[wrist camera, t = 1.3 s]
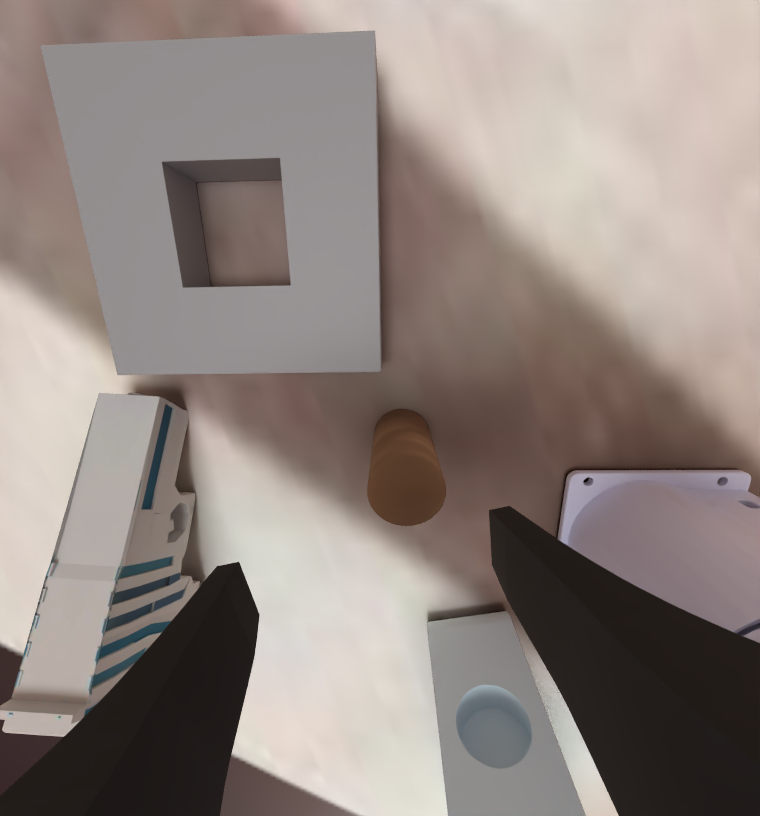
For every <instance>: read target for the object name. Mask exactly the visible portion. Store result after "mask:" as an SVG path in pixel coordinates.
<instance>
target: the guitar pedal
mask: <svg viewBox="0 0 760 816" xmlns="http://www.w3.org/2000/svg"><path fill="white" fill-rule="evenodd" d="M427 631H428V640H429V649H430V658H431V666H432V675H433V684H434V693H435V702H436V711H437V720H438V729H439V738H440V747H441V756H442V765H443V774H444V782H445V791H446V800H447V809H448V816H586V815H585V812H584V810H583V807H582V804H581V802H580V799H579V797H578V794H577V791H576V789H575V786H574V783H573V781H572V778H571V775H570V773H569V770H568V768H567V765H566V762H565V760H564V757H563V754H562V752H561V749H560V746H559V744H558V741H557V739H556V736H555V733H554V731H553V728H552V725H551V723H550V720H549V717H548V715H547V712H546V710H545V707H544V704H543V702H542V699H541V696H540V694H539V691H538V688H537V686H536V683H535V681H534V678H533V675H532V673H531V670H530V667H529V665H528V662H527V660H526V657H525V654H524V652H523V649H522V646H521V644H520V641H519V638H518V636H517V633H516V631H515V628H514V625H513V623H512V620H511V618H510V615H509V613H508V612H507V611H502V612H495V613H488V614H481V615H474V616H466V617H459V618H452V619H445V620H438V621H430V622H427Z"/></svg>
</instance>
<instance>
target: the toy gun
mask: <svg viewBox="0 0 760 816" xmlns="http://www.w3.org/2000/svg"><path fill="white" fill-rule="evenodd" d="M188 423H189V420H188V411H186V410H183V409H181V408H180V407H178V406H176V405H175V404H173V403H171V402H170V401H168V400H166V399H164V398H162V397H159V396H150V395H146V394H141V393H129V394H128V395H123V394H106V393H99V395H98V399H97V402H96V406H95V409H94V413H93V416H92V420H91V423H90V427H89V430H88V434H87V437H86V441H85V444H84V448H83V452H82V455H81V459H80V462H79V466H78V469H77V473H76V476H75V480H74V483H73V487H72V490H71V494H70V497H69V501H68V505H67V508H66V512H65V515H64V518H63V522H62V525H61V529H60V532H59V536H58V539H57V543H56V546H55V550H54V553H53V557H52V560H51V563H50V566H49V569H48V572H47V575H46V578H45V581H44V585H43V588H42V592H41V595H40V599H39V602H38V606H37V609H36V613H35V616H34V620H33V623H32V627H31V630H30V634H29V637H28V641H27V645H26V648H25V652H24V655H23V659H22V662H21V666H20V669H19V673H18V676H17V680H16V683H15V687H14V690H13V694H12V698H11V700H9V701H7V702H6V703H4V704H3V705H1V706H0V719H4V720H5V722H4V726H3V729H2V730H3V731H4V732H6V733H19V734H33V735H48V736H62V737H64V736H65V735H66V734H67V733H68V732H69V731H70V730H71V729H72V728H73V727H74V726H75V725H76V724H77V723H78V722H79V721H80V720H81V719H82V718H83V717H84V716H85V715H86V714H87V713H88V712H89V711H90V710H91V709H92V708H93V707H94V706H95V705H96V704H97V703H98V702H99V701H100V700H101V699H102V698H103V697H104V696H105V695H106V694H107V693H108V692H109V691H110V690H111V689H112V688H113V687H114V686H115V685H116V683H117V682H118V681H119V680H120V679H121V678H122V677H123V676H124V675H125V673H126V672H127V671H128V670H129V669H130V668H131V667H132V666H133V665H134V663H135V662H136V661H137V660H138V659H139V658H140V657H141V656H142V655H143V653H144V652H145V651H146V650H147V649H148V648H149V647H150V646H151V644H152V643H153V642H154V641H155V640H156V639H157V638H158V637H159V635H160V634H161V633H162V632H163V631H164V629H165V628H166V627H167V626H168V625H169V623H170V622H171V621H172V620H173V619H174V617H175V616H176V615H177V614H178V613H179V612H180V610H181V609H182V608H183V607H184V606H185V604H186V603H187V602H188V601H189V599H190V598H191V597H192V596H193V595H194V593H195V592H196V591H197V590H198V588H199V587H200V586H201V583H200V581H193V580H192V577H191V576H183V575H181V567H182V559H183V557H184V555H185V552H186V548H187V544H188V539H189V533H190V527H191V521H192V515H193V509H194V503H195V497H196V495H195V493H189V492H178V490H177V488H176V487H175V482H176V477H177V472H178V468H179V463H180V458H181V453H182V448H183V443H184V438H185V433H186V429H187V426H188Z"/></svg>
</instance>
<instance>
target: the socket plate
mask: <svg viewBox="0 0 760 816" xmlns="http://www.w3.org/2000/svg"><path fill="white" fill-rule="evenodd" d="M41 50H42V54H43V58H44V63H45V67H46V71H47V76H48V80H49V84H50V88H51V93H52V97H53V101H54V105H55V110H56V114H57V118H58V123H59V127H60V131H61V135H62V140H63V144H64V148H65V152H66V157H67V161H68V165H69V170H70V174H71V178H72V182H73V187H74V191H75V195H76V199H77V204H78V208H79V212H80V217H81V221H82V225H83V229H84V234H85V238H86V242H87V246H88V251H89V255H90V259H91V264H92V268H93V272H94V276H95V281H96V285H97V289H98V293H99V298H100V302H101V306H102V311H103V315H104V319H105V323H106V328H107V332H108V336H109V340H110V345H111V349H112V353H113V358H114V362H115V366H116V370H117V375H158V374H238V373H318V372H381V367H382V321H381V260H380V200H379V139H378V79H377V59H376V42H375V31H356V32H334V33H311V34H289V35H266V36H244V37H221V38H199V39H176V40H153V41H131V42H108V43H86V44H63V45H41ZM258 180H282V188H283V200H284V211H285V223H286V235H287V246H288V258H289V270H290V282H291V285H287V286H239V287H211V283H210V276H209V269H208V262H207V256H206V249H205V242H204V235H203V228H202V222H201V215H200V208H199V201H198V194H197V187H196V182H225V181H258Z"/></svg>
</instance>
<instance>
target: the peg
mask: <svg viewBox="0 0 760 816" xmlns="http://www.w3.org/2000/svg"><path fill="white" fill-rule="evenodd" d="M367 494H368V499H369V502H370V505H371V507H372V508H373V510H374V511H375V512H376V513H377V514H378V515H379V516H380V517H381V518H382V519H384V520H386V521H388V522H390V523H392V524H396V525H401V526H412V525H417V524H421V523H423V522H425V521H427V520H429V519H431V518H432V517H433V516H434V515H435V514H436V513H437V512H438V511H439V510H440V508H441V507H442V505H443V503H444V500H445V496H446V486H445V481H444V478H443V474H442V471H441V468H440V464H439V461H438V458H437V454H436V451H435V448H434V444H433V441H432V438H431V434H430V431H429V428H428V425H427V423H426V421H425V420H424V419H423V417H422V416H420V415H419V414H418V413H416V412H414V411H412V410H408V409H396V410H393V411H390V412H388V413H386V414H385V415H384V416H382V417H381V419H380V420H379V421H378V423H377V425H376V427H375V432H374V439H373V447H372V455H371V464H370V472H369V480H368V488H367Z"/></svg>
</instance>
